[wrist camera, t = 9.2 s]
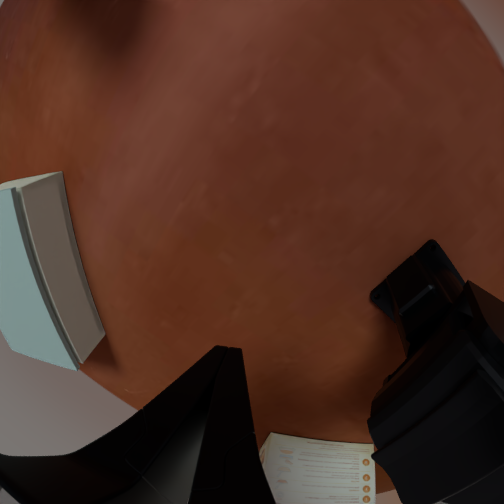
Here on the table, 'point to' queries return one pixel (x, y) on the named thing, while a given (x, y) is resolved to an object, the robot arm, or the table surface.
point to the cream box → (58, 259)
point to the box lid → (26, 294)
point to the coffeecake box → (318, 471)
